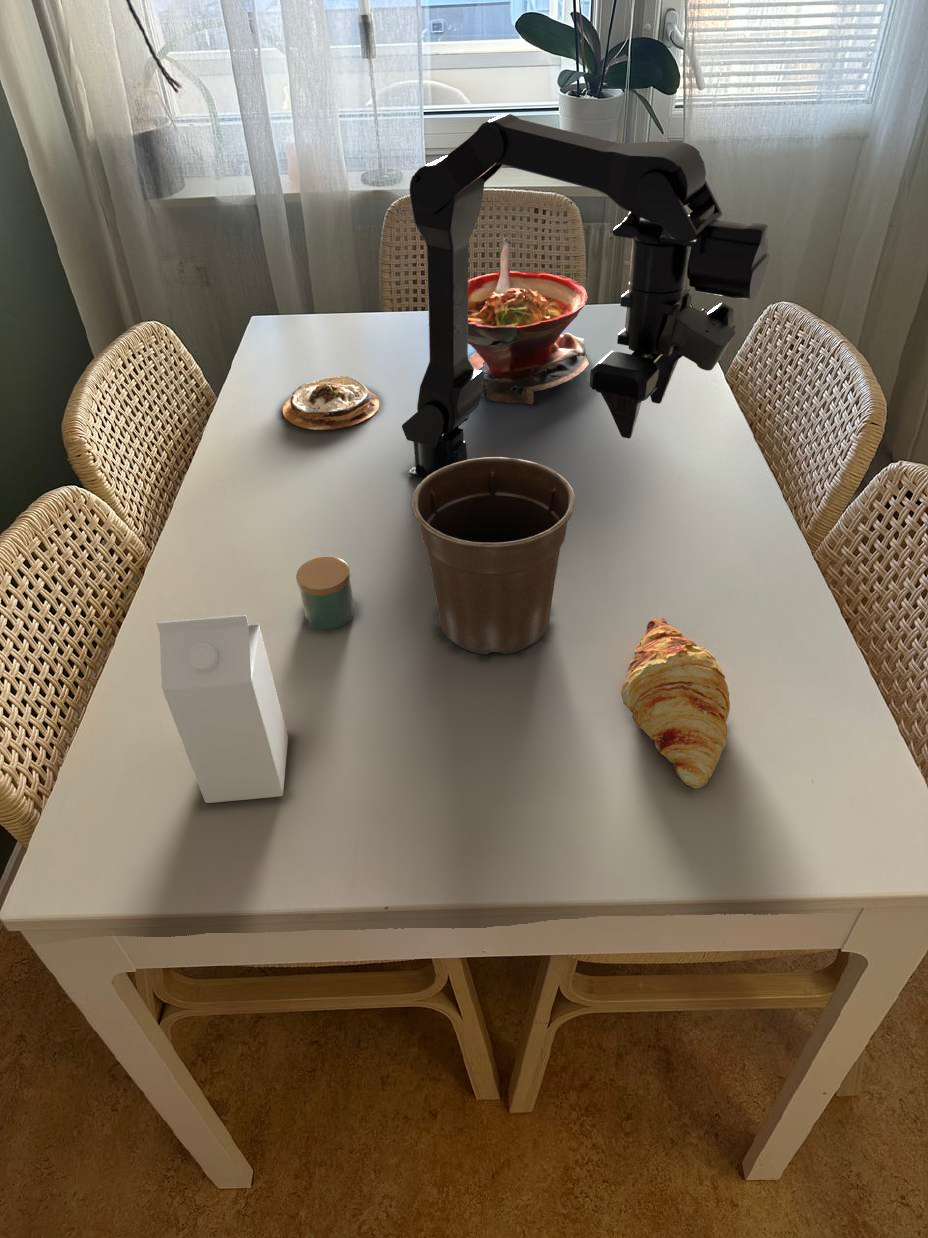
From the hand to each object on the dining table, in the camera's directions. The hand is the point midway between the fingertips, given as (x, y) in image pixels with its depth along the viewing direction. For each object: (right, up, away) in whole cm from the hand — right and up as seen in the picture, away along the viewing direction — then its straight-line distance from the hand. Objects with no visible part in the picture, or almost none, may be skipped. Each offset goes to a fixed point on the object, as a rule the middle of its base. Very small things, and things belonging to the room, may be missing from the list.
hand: (641, 419), depth 101 cm
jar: (-36, -22, -1) cm, 42 cm away
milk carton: (-41, -37, -18) cm, 58 cm away
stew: (-12, +19, +45) cm, 50 cm away
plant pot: (-17, -23, -3) cm, 29 cm away
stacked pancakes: (-41, +10, +36) cm, 56 cm away
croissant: (0, -32, -14) cm, 35 cm away
